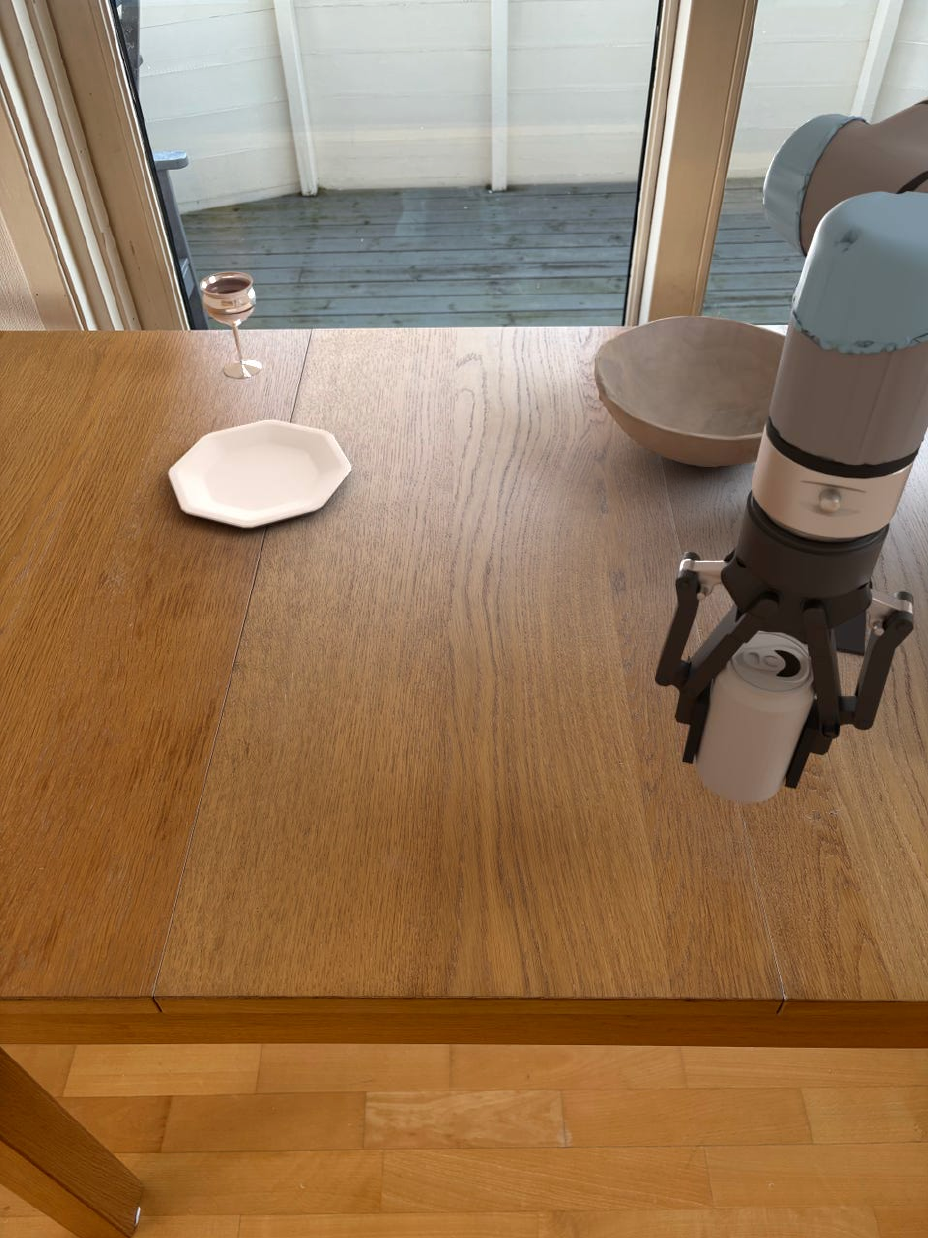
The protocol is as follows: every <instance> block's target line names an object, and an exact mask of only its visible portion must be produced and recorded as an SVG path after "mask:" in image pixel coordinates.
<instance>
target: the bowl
mask: <svg viewBox="0 0 928 1238" xmlns="http://www.w3.org/2000/svg"><path fill="white" fill-rule="evenodd" d="M785 338H786V334H782V333H780V332H777V331H773V330H772V329H769V328H765V327H762V326H759V325H756V324H753V323H748V322H745V321H739V320H734V319H729V318H724V317H723V318H722V317H716V316H708V315H680V316H672V317H671V316H670V317H665V318H660V319H656V320H652V321H648V322H644V323H642V324H639V325H636V326H634V327H631V328H629V329H625V330H623V331H622V332H620V333H618V334H616V335H614V336H611V337H610V338H609V339H607V340H606V341H605V342H603V344H601V345H600V346H599V348H598V349H597V351H596V353H595V355H594V369H593V370H594V371H593V372H594V379H595V380H594V381H595V385H596V387H597V389H598V398H599V400H600V402H602V404H603V406H604V407H605V408H606V410H607V411H608V413H609V414H610V416H611V417H612V419H613V420H614V421H615V422H616V424H617V425H618V426H619V427H620V428H621V430H622V431H623V432H624V433H625V434H626V435H628V436H629V437H630V438H631V439H632V440H634V441H635V442H636V443H637V444H638V445H640V446H642V447H643V448H646V449H647V450H649V451H651V452H652V453H655V454H657V455H659V456H661V457H663V458H665V459H667V460H671V461H673V462H677V463H681V464H683V465H684V464H685V465H689V466H695V467H703V468H718V467H727V466H729V467H730V466H741V465H746V464H750V463H754V462H756V461H757V457H758V452H759V448H760V444H761V440H762V436H763V431H764V427H765V423H766V421H767V418H768V413H769V410H770V406H771V401H772V397H773V392H774V388H775V383H776V379H777V374H778V369H779V365H780V360H781V356H782V351H783V347H784V342H785Z"/></svg>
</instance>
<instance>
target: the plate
mask: <svg viewBox="0 0 928 1238" xmlns="http://www.w3.org/2000/svg"><path fill="white" fill-rule="evenodd" d="M351 473H352V464H351V463H350V461H349V459H348V458H347V456H346V454H345V453H344V452H343V450H342V448H341V446H340V445H339V444H338V442H337V441H336V438H335V436H334V435H333V434H332V433H331V432H329V431H327V430H325V429H320V428H315V427H311V426H306V425H302V424H298V423H293V422H288V421H283V420H279V419H264V420H259V421H255V422H251V423H246V424H242V425H238V426H233V427H230V428H225V429H221V430H216V431H212V432H208V433H206V434H205V435H203V436H202V437H201V438H200V439H199V440H198V441H197V442H196V443H195V444H194V445H192V446H191V448H190V449H188V451H186V452H185V453H184V454H183V455H182V456H181V457H180V459H178V460H177V461H176V462H174V464H173V465H172V466H171V467H170V468H169V469H168V472H167V476H168V480H169V481H170V484H171V486H172V489H173V491H174V492H173V493H174V494H175V497H176V499H177V502H178V505H179V507H180V511H181V512H183V513H184V514H185V515H187V516H190V517H193V518H198V519H202V520H206V521H210V522H214V523H219V524H222V525H226V526H231V527H233V528H238V529H242V530H255V529H258V528H262V527H267V526H270V525H273V524H276V523H281V522H284V521H288V520H292V519H295V518H299V517H302V516H307V515H311V514H314V513H317V512H318V511H320V510H322V509H323V508H324V507H325V506H326V504H327V503H328V502H329V501H330V499H331V498H332V497H333V495H334V494H335V493H336V492H337V490H339V488H340V487H341V485H342V484H343V483H344V482H345V480H346V479H347V478H348V477H349V476H350V474H351Z"/></svg>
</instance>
